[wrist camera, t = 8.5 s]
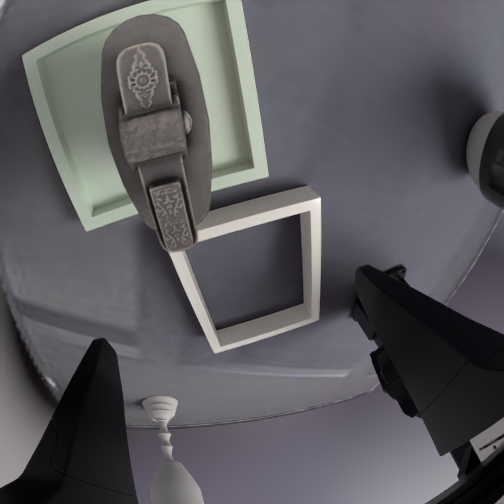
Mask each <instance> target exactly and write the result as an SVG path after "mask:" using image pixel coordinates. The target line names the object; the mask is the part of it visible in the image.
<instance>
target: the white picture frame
mask: <svg viewBox="0 0 504 504" xmlns="http://www.w3.org/2000/svg"><path fill="white" fill-rule="evenodd" d="M299 213H300V224H301V242H302V264H303V293H304V303H303V304H300V305H297V306H294V307H291V308H288V309H285V310H282V311H279V312H276V313H273V314H270V315H266V316H263V317H260V318H257V319H254V320H250V321H247V322H244V323H241V324H237V325H234V326H231V327H227V328H224V329H220V330H216V328H215V326H214V323H213V321H212V318H211V316H210V314H209V311H208V309H207V306H206V304H205V301H204V299H203V296H202V294H201V291H200V289H199V286H198V283H197V281H196V278H195V276H194V273H193V270H192V268H191V265H190V262H189V260H188V257H187V254H186V252H185V250H184V251H180V252H169V254H170V256H171V259H172V261H173V264H174V266H175V268H176V271H177V273H178V275H179V278H180V280H181V282H182V285H183V287H184V289H185V291H186V294H187V296H188V298H189V300H190V303H191V305H192V307H193V309H194V311H195V314H196V316H197V318H198V320H199V322H200V324H201V326H202V329H203V331H204V333H205V335H206V337H207V339H208V341H209V343H210V345H211V347H212V349H213V351H214V353H218V352H222V351H225V350H229V349H232V348H235V347H239V346H242V345H246V344H249V343H252V342H255V341H258V340H262V339H265V338H268V337H271V336H274V335H277V334H280V333H283V332H286V331H289V330H292V329H295V328H298V327H301V326H304V325H306V324H309V323H312V322H315V321H317V320H319V308H320V278H321V198H320V197H319V196H318V195H317V194H316V193H315V192H314V191H313V190H312V189H311V188H310V187H309V186H308V185H307V186H303V187H299V188H295V189H291V190H287V191H283V192H279V193H275V194H271V195H267V196H263V197H259V198H256V199H252V200H248V201H244V202H241V203H237V204H233V205H230V206H226V207H222V208H219V209H215V210H212V211H209V212H208V214H207V216H206V217H205V218H204V220H203V221H202V222H201V223H200V224H198V225H197V226H196V227H197V231H198V241H197V242H199V241H203V240H206V239H210V238H213V237H217V236H220V235H224V234H227V233H231V232H234V231H238V230H241V229H245V228H248V227H252V226H255V225H259V224H262V223H266V222H270V221H273V220H277V219H281V218H284V217H288V216H292V215H295V214H299Z"/></svg>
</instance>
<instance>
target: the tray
mask: <svg viewBox="0 0 504 504" xmlns="http://www.w3.org/2000/svg"><path fill="white" fill-rule="evenodd" d="M146 14H158V15H163V16H168V17H170V18H171V19H173V20H174V21H176V22H178V23H179V24H180V26H181V27H182V29H183V30H184V32H185V34H186V37H187V40H188V43H189V46H190V48H191V51H192V54H193V57H194V60H195V63H196V65H197V68H198V71H199V74H200V78H201V83H202V88H203V93H204V97H205V102H206V107H207V111H208V116H209V122H210V138H211V153H212V183H211V192H212V191H215V190H219V189H223V188H226V187H230V186H234V185H238V184H242V183H245V182H249V181H253V180H257V179H261V178H265V177H269V175H268V167H267V160H266V153H265V146H264V138H263V131H262V125H261V118H260V111H259V104H258V98H257V91H256V85H255V78H254V72H253V66H252V60H251V54H250V48H249V42H248V36H247V30H246V24H245V19H244V13H243V7H242V2H241V0H150V1H146V2H142V3H139V4H136V5H132V6H129V7H126V8H123V9H120V10H117V11H114V12H111V13H109V14H106V15H103V16H101V17H98V18H96V19H93V20H91V21H88V22H86V23H84V24H81V25H79V26H77V27H75V28H72V29H70V30H68V31H66V32H64V33H62V34H60V35H58V36H56V37H54V38H52V39H50V40H48V41H46V42H44V43H43V44H41V45H39V46H37V47H35V48H34V49H32V50H30V51H29V52H27V53H25V54H24V55H22V59H23V63H24V67H25V72H26V76H27V80H28V84H29V87H30V91H31V95H32V98H33V101H34V105H35V108H36V111H37V114H38V118H39V121H40V124H41V127H42V130H43V132H44V135H45V138H46V141H47V144H48V146H49V149H50V152H51V154H52V157H53V159H54V162H55V164H56V167H57V169H58V172H59V174H60V176H61V179H62V181H63V183H64V186H65V188H66V190H67V192H68V195H69V197H70V199H71V201H72V203H73V205H74V208H75V210H76V212H77V214H78V216H79V218H80V220H81V222H82V224H83V226H84V228H85V230H86V232H87V231H90V230H93V229H95V228H98V227H101V226H104V225H107V224H109V223H112V222H115V221H118V220H121V219H124V218H127V217H130V216H133V215H136V214H139V213H138V211H137V210H136V208H135V206H134V204H133V202H132V201H131V199H130V197H129V195H128V193H127V191H126V190H125V188H124V186H123V183H122V181H121V178H120V175H119V173H118V170H117V167H116V164H115V162H114V159H113V156H112V153H111V150H110V147H109V145H108V139H107V134H106V128H105V122H104V115H103V109H102V102H101V61H102V50H103V46H104V43H105V40H106V39H107V37H108V36H109V35H110V33H111V32H112V31H113V29H115V28H116V27H117V26H119V25H120V24H121V23H123V22H124V21H126V20H128V19H131V18H133V17H136V16H139V15H146Z"/></svg>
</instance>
